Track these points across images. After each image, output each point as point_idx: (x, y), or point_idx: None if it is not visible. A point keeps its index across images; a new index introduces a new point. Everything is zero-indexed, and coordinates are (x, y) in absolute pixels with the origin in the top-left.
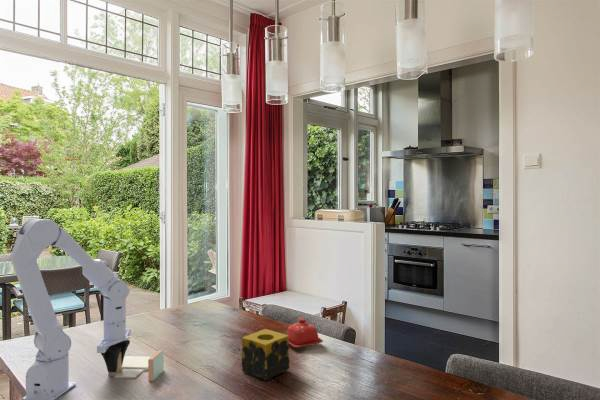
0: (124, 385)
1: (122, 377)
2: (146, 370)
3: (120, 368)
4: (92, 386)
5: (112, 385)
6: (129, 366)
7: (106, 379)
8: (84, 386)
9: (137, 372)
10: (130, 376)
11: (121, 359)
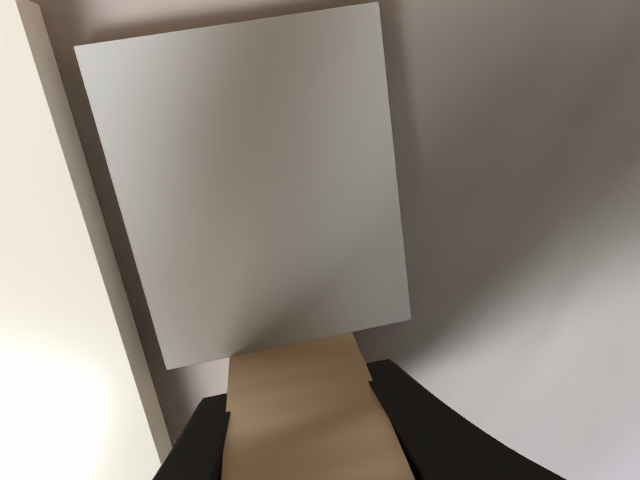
0: (591, 27)
1: (394, 211)
2: (40, 18)
3: (260, 374)
4: (629, 378)
5: (598, 187)
6: (100, 328)
7: (453, 368)
8: (630, 447)
9: (217, 81)
10: (376, 97)
11: (221, 477)
